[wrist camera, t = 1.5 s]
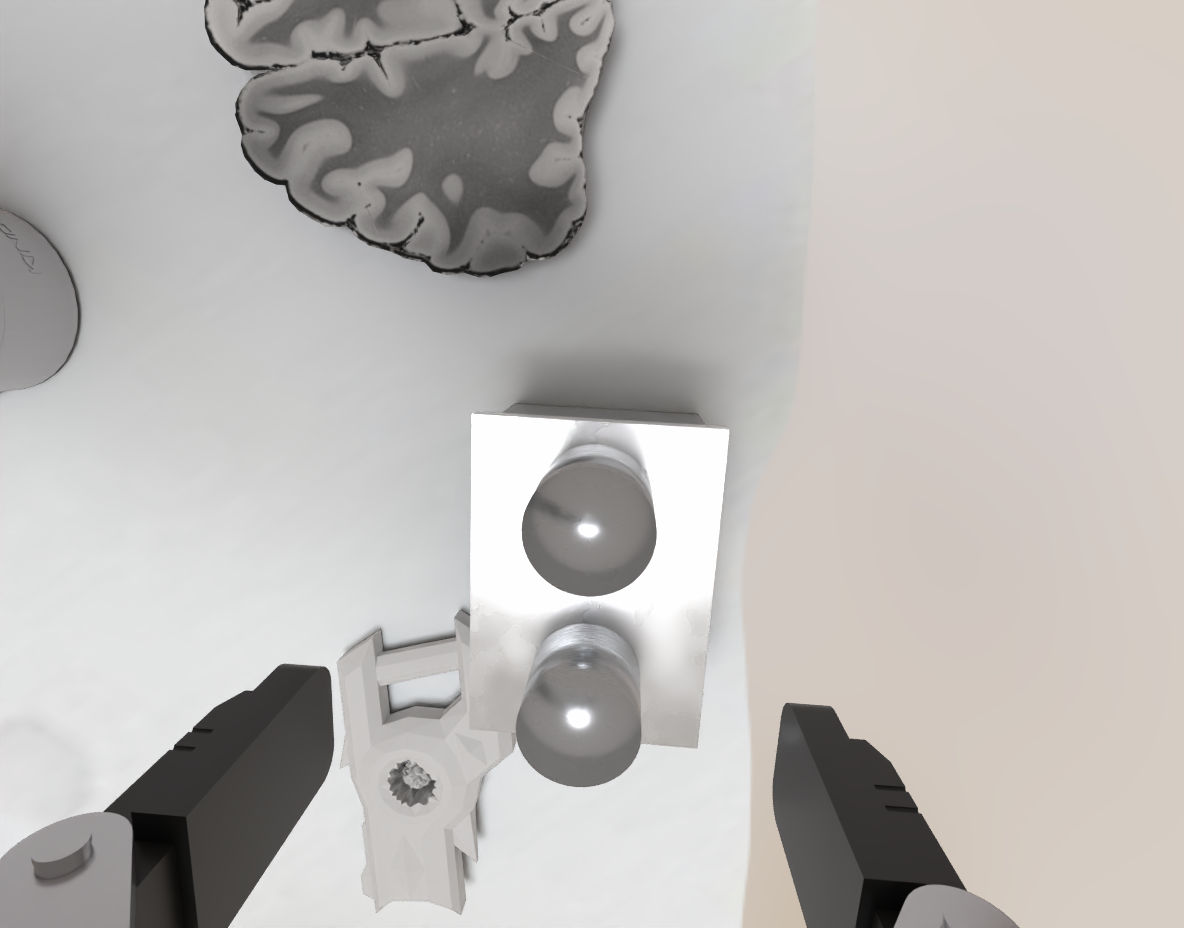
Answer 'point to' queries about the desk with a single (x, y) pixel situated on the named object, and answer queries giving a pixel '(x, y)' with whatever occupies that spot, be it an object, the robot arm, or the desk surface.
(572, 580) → the cylinder
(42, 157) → the desk surface
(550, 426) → the pan
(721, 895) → the desk surface
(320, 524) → the desk surface
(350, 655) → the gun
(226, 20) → the brain slice
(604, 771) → the cylinder
